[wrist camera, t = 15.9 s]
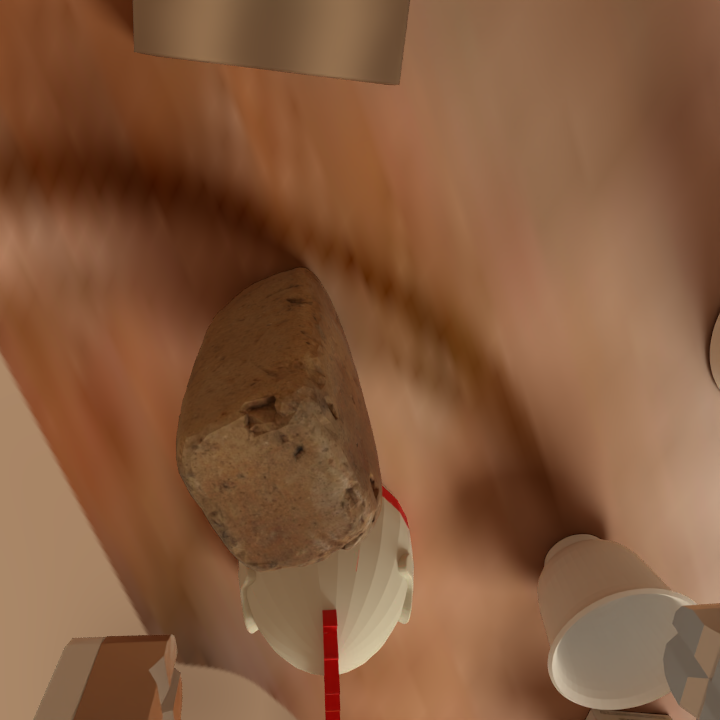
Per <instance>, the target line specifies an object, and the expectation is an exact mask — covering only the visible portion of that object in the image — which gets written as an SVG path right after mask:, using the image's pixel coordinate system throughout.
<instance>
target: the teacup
mask: <svg viewBox="0 0 720 720" xmlns="http://www.w3.org/2000/svg"><path fill="white" fill-rule="evenodd" d="M537 594H538V603H539V608H540V612H541V616H542V620H543V623H544V627H545V630H546V634H547V637H548V641H549V644H550V651H549V656H548V672H549V676H550V678H551V681H552V683H553V685H554V686H555V688H556V689H557V690H558V691H559V692H560V693H561V694H562V695H563V696H564V697H565V698H567V699H568V700H570V701H572V702H574V703H576V704H579V705H582V706H585V707H589V708H593V709H600V710H619V709H627V708H632V707H637V706H641V705H644V704H647V703H650V702H652V701H654V700H657V699H659V698H661V697H663V696H664V695H666V694H668V693H670V692H671V691H670V688H669V685H668V683H667V680H666V677H665V671H664V664H663V657H664V652H665V648H666V644H667V643H668V642H669V641H670V640H671V639H672V638H673V637H674V636H675V635H676V634H678V632H677V630H676V629H675V627H674V626H673V624H672V622H673V619H674V615H675V612H676V611H677V610H678V609H679V608H680V607H681V606H686V605H697V604H696V603H695V602H694V601H693V600H691V599H690V598H688V597H687V596H684V595H682V594H680V593H677V592H674V591H672V590H671V589H670V588H669V587H668V586H667V585H666V584H665V583H664V582H663V581H662V580H661V579H660V578H659V577H658V576H657V575H656V574H655V573H654V571H653V570H652V569H651V568H650V567H649V566H648V565H647V564H646V563H645V562H644V561H643V560H642V559H641V558H640V557H639V556H637V555H636V554H635V553H634V552H632V551H631V550H630V549H628V548H627V547H625V546H623V545H621V544H619V543H616V542H613V541H608V540H602V539H599V538H598V537H595V536H593V535H588V534H577V535H572V536H569V537H566V538H564V539H562V540H561V541H559V542H558V543H556V544H555V545H554V546H553V547H552V548H551V549H550V550H549V552H548V553H547V555H546V558H545V561H544V568H543V570H542V572H541V575H540V577H539V581H538V587H537Z"/></svg>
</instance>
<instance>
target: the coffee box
mask: <svg viewBox="0 0 720 720" xmlns="http://www.w3.org/2000/svg"><path fill="white" fill-rule="evenodd" d="M586 720H672V718H671V717H670V716H669V715H659V714H647V713H635V712H623V711H612V710H600V709H591V710H590V712H589V714H588V716H587V718H586Z"/></svg>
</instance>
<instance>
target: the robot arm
mask: <svg viewBox="0 0 720 720" xmlns="http://www.w3.org/2000/svg"><path fill="white" fill-rule="evenodd" d="M710 365H711V370H712V374H713V377H714V380H715V382H716V384H717V386H718V388H719V389H720V314H719V316H718V318H717V321H716V324H715V326H714V330H713V333H712V338H711V344H710ZM672 624H673V626H674V627H675V629H676V630H677V632H678V634H676V635H675V636H674V637H673V638H672V639H671V640H670V641H669V642H668V643H667V644H666V648H665V652H664V657H663V664H664V671H665V677H666V680H667V683H668V685H669V688H670V691H671V692H672V694H673V696H674V698H675V699H676V701H677V703H678V704H679V706H680V707H682V708H683V709H685V710H686V711H687V712H689V713H690V714H692V715H693V716H694V717H696V720H720V603H716V604H701V605H686V606H681V607H680V608H679V609H678V610H677V611H676V612H675V615H674V619H673V622H672ZM176 656H177V647H176V641H175V636H173V635H138V636H107V637H89V638H72V640H71V641H70V642H69V643H68V644H67V646H66V647H65V648H64V650H63V652H62V655H61V657H60V660H59V662H58V664H57V666H56V669H55V671H54V673H53V676H52V678H51V680H50V682H49V685H48V687H47V690H46V692H45V694H44V696H43V699H42V701H41V703H40V706H39V708H38V710H37V712H36V715H35V717H34V720H181V708H182V681H181V673H180V672H179V671H178V670H177V669H176V668H174V665H175V661H176Z"/></svg>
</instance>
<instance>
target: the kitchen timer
mask: <svg viewBox="0 0 720 720" xmlns="http://www.w3.org/2000/svg"><path fill="white" fill-rule="evenodd" d="M412 556H413V555H412V546H411V538H410V531H409V526H408V522H407V518H406V516H405V514H404V512H403V510H402V508H401V506H400V504H399V503H398V501H397V499H396V498H395V497H394V496H392V495H391V494H390V493H389V492H388V491H387V490H386V489H385V488H384V487H383V486H382V507H381V513H380V515H379V517H378V519H377V522H376V524H375V526H374V528H373V529H372V530H371V532H370V533H369V534H368V536H367V537H366V538H365V539H364V541H362V542H361V543H360V544H359V545H357V546H356V547H354V548H352V549H350V550H343V549H340V550H338V551H336V552H334V553H332V555H331V556H330V557H329V558H328V559H326V560H324V561H321V562H318V563H314V564H311V565H308V566H305V567H298V568H282V569H279V570H276V571H269V572H257V571H255V570H253V569H251V568H249V567H247V566H246V565H244V564H242V563H241V562H240V561H239V572H238V577H239V586H240V595H241V604H242V610H243V616H244V621H245V625H246V628H247V630H248V632H249V633H254V632H255V631H257V630H258V629H259V630H260V632H261V633H262V635H263V636H264V637H265V639H266V640H267V641H268V643H269V644H270V646H271V647H272V648H273V649H274V650H275V652H276V653H277V654H279V655H280V656H281V657H282V658H284V659H285V660H286V661H288V662H289V663H290V664H292V665H293V666H295V667H296V668H298V669H301V670H303V671H306V672H308V673H311V674H316V675H323V676H324V682H325V714H326V720H340V696H339V694H340V684H339V674H342V673H346V672H349V671H351V670H353V669H355V668H357V667H359V666H360V665H362V664H364V663H365V662H366V661H367V660H368V659H370V658H371V657H372V656H373V655H374V654H375V653H376V652H377V651H378V650H379V649H380V648H381V647H382V646H383V645H384V643H385V642H386V640H387V638H388V637H389V635H390V634H391V632H392V630H393V629H394V627H395V625H396V624H397V622H398V621H399V622H401V623H403V624H406V623H407V622H408V621H409V618H410V614H411V608H412V598H413V573H414V563H413V558H412Z"/></svg>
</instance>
